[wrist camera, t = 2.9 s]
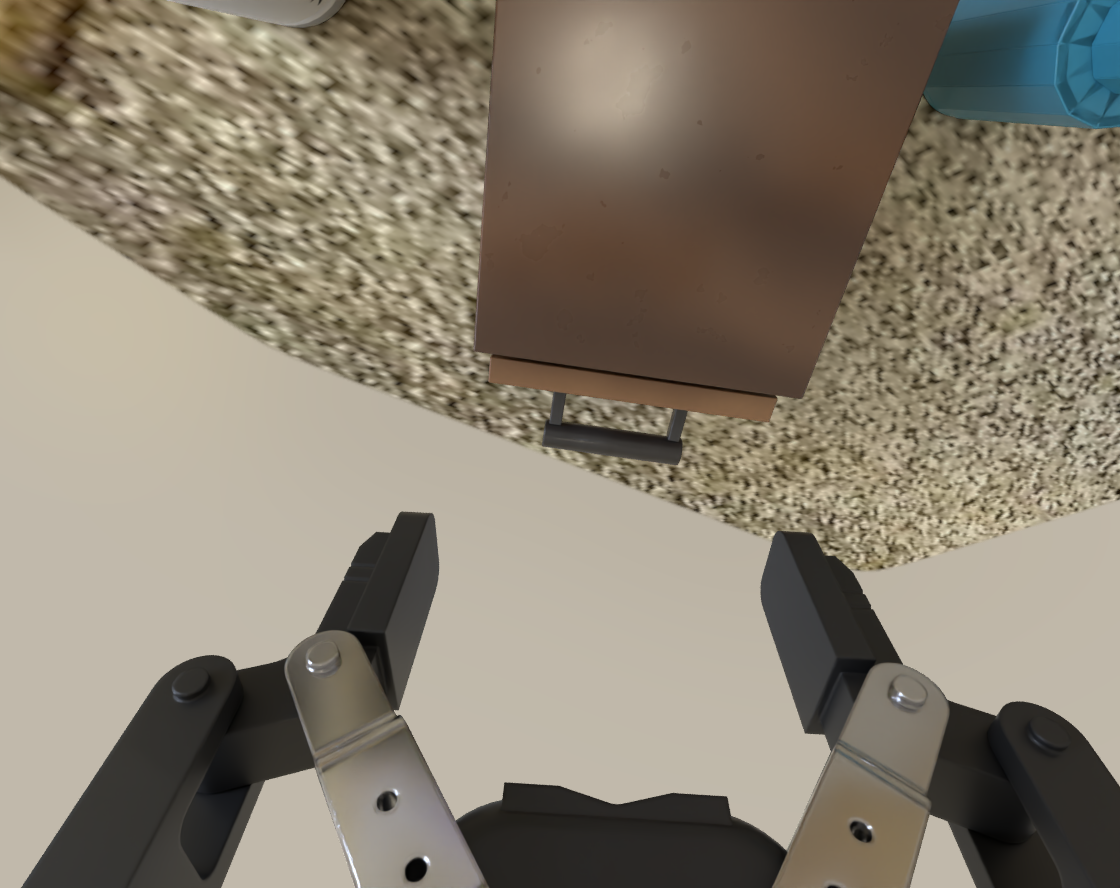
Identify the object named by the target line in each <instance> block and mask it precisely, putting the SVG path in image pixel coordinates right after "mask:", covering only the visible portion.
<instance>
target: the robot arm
mask: <svg viewBox="0 0 1120 888" xmlns="http://www.w3.org/2000/svg"><path fill="white" fill-rule="evenodd" d="M438 575H439V557H438V547H437V537H436V527H435V518H434V515H433V514H432V513H418V512H417V513H416V512H400V513H399V515H398V517H397V519H396V521H395V524H394V526H393V528H392V530H391V532H390V533H384V532H376V533H375V534H374V535H372V536H371V537H370V538H369V539H368V540H367V541H365V542H364V543H363V544H362V545H361V546H360V547H359V549H358V551H357V553H356V555H355V557H354V559H353V561H352V563H351V567H349V569H348V571H347V573H346V575H345V577H344V581H342V583H341V585H340V587H339V589H338V591H337V593H336V595H335V597H334V599H333V601H332V602H331V604H330V607H329V608H328V610H327V612H326V614H325V617H324V618H323V621H322V622H321V624H320V626H319V628H318V630H317V632H316V634H314V635H312V636H310V637H308V638H306V639H305V640H303V641H302V642H301V643H299V644H298V645H297V646H296V647H295V648H294V649H293V650H292V651H291V653H290V654H289V656H288V657H287V658H285V659H283V660H280V661H277V662H273V663H270V664H265V665H260V666H256V667H251V668H246V669H241V670H237V671H236V668H235V666H234V664H233V663H232V662H231V661H230V660H229V659H227V658H225V657H222V656H216V655H215V656H214V655H207V656H201V657H197V658H193V659H190V660H188V661H185V662H183V663H181V664H180V665H178V666H176V667H174V668H173V669H172V670H170V671H169V672H168V673H166V674H165V675H164V676H163V677H162V678H161V679H160V680H159V681H158V682H157V683H156V685H155V686H154V688H153V689H152V690H151V692H150V693H149V695H148V696H147V698H146V699H145V701H144V702H143V704H142V706H141V707H140V709H139V710H138V712H137V713H136V715H135V716H134V718H133V719H132V721H131V722H130V724H129V725H128V727H127V728H126V730H125V731H124V733H123V734H122V736H121V737H120V739H119V740H118V742H117V743H116V745H115V746H114V748H113V750H112V751H111V752H110V754H109V756H108V757H107V759H106V760H105V762H104V763H103V765H102V766H101V768H100V769H99V771H98V772H97V774H96V775H95V777H94V778H93V780H92V781H91V783H90V784H89V786H88V788H87V789H86V790H85V792H84V793H83V795H82V796H81V798H80V799H79V801H78V803H77V804H76V806H75V807H74V809H73V810H72V812H71V813H70V815H69V816H68V818H67V819H66V821H65V822H64V824H63V825H62V827H61V828H60V830H59V831H58V833H57V834H56V836H55V837H54V839H53V840H52V842H51V843H50V845H49V846H48V848H47V849H46V851H45V853H44V854H43V855H42V857H41V858H40V860H39V862H38V863H37V865H36V866H35V868H34V869H33V871H32V872H31V874H30V875H29V877H28V878H27V880H26V881H25V883H24V884H23V886H22V887H21V888H221V886H222V884H223V882H224V879H225V877H226V874H227V872H228V869H229V867H230V865H231V862H232V860H233V857H234V855H235V852H236V850H237V848H238V845H239V843H240V840H241V838H242V835H243V833H244V830H245V828H246V825H247V823H248V821H249V818H250V815H251V813H252V811H253V808H254V806H255V804H256V801H257V799H258V796H259V794H260V791H261V789H262V786H263V784H264V782H265V780H269V779H272V778H276V777H280V776H284V775H288V774H292V773H296V772H299V771H303V770H306V769H311V768H315V770H316V773H317V776H318V778H319V781H320V784H321V787H322V790H323V793H324V796H325V799H326V802H327V805H328V808H329V811H330V814H331V817H332V820H333V823H334V826H335V829H336V831H337V835H338V838H339V840H340V844H341V846H342V850H343V852H344V856H345V858H346V862H347V865H348V868H349V871H350V874H351V877H352V880H353V883H354V886H355V888H910V884H911V881H912V877H913V873H914V870H915V866H916V862H917V858H918V855H919V851H920V848H921V844H922V840H923V837H924V833H925V829H926V826H927V822H928V818H929V814H930V815H933V816H935V817H938V818H941V819H944V820H946V821H948V823H949V825H950V827H951V830H952V832H953V835H954V837H955V839H956V842H957V844H958V846H959V848H960V851H961V853H962V855H963V858H964V860H965V862H966V865H967V867H968V869H969V871H970V874H971V876H972V878H973V880H974V883H975V885H976V887H977V888H1120V786H1119V785H1118V784H1117V782H1116V781H1115V779H1114V778H1113V776H1112V775H1111V773H1110V772H1109V771H1108V769H1107V768H1106V766H1105V765H1104V763H1103V762H1102V761H1101V759H1100V758H1099V756H1098V755H1097V754H1096V752H1095V751H1094V749H1093V748H1092V746H1091V745H1090V744H1089V742H1088V741H1087V740H1086V738H1085V737H1084V736H1083V735H1082V734H1081V733H1080V732H1079V731H1078V730H1077V729H1076V728H1075V727H1074V726H1073V725H1072V724H1071V723H1069V722H1068V721H1067V720H1065V719H1064V718H1062V717H1061V716H1059V715H1058V714H1056V713H1054V712H1052V711H1050V710H1048V709H1046V708H1044V707H1042V706H1039V705H1036V704H1032V703H1028V702H1011V703H1008V704H1006V705H1005V706H1003V708H1002V709H1001V710H1000V712H999V714H998V715H997V716H995V715H991V714H989V713H985V712H982V711H979V710H976V709H973V708H969V707H967V706H963V705H960V704H957V703H954V702H951V701H949V700H947V699H946V697H945V695H944V694H943V693H942V691H941V690H940V688H939V687H938V686H937V685H936V684H935V683H934V682H933V681H931V680H930V679H929V678H928V677H926V676H925V675H924V674H922V673H920V672H918V671H917V670H915V669H913V668H910V667H908V666H905V665H903V663H902V662H901V660H900V658H899V656H898V654H897V652H896V651H895V649H894V647H893V645H892V643H891V641H890V640H889V638H888V636H887V634H886V632H885V630H884V629H883V627H882V625H881V623H880V621H879V619H878V618H877V616H876V614H875V612H874V610H873V609H871V605H870V603H869V601H868V599H867V597H866V596H865V594H863V590H862V589H861V586H860V585H859V583H858V581H857V579H856V578H855V575H854V574H853V572H852V571H851V570H850V569H849V568H847V567H846V566H845V565H844V564H843V563H842V562H841V561H840V560H839V559H838V558H837V557H836V556H824V554H823V552H822V550H821V548H820V546H819V544H818V542H817V540H816V538H815V536H814V535H813V534H812V533H807V532H789V531H778V532H776V534H775V535H774V538H773V541H772V545H771V548H770V552H769V555H768V559H767V562H766V566H765V569H764V573H763V576H762V581H761V602H762V606H763V609H764V612H765V615H766V618H767V621H768V624H769V627H770V630H771V633H772V636H773V639H774V642H775V645H776V648H777V651H778V654H779V657H780V660H781V663H782V666H783V669H784V672H785V675H786V678H787V681H788V684H789V687H790V689H791V693H792V696H793V699H794V702H795V705H796V708H797V711H798V714H799V717H800V720H801V723H802V726H803V729H804V732H805V733H808V734H824V735H825V736H826V739H827V742H828V745H829V747H830V750H831V753H830V755H829V757H828V760H827V762H826V764H825V766H824V768H823V770H822V773H821V775H820V777H819V779H818V782H817V784H816V786H815V788H814V790H813V793H812V795H811V797H810V799H809V801H808V804H807V806H806V808H805V810H804V813H803V815H802V817H801V819H800V821H799V824H798V826H797V828H796V830H795V832H794V835H793V837H792V839H791V841H790V843H789V846H788V848H787V850H785V849H784V848H783V847H782V846H781V845H780V844H779V843H778V842H776V841H775V840H774V839H772V838H771V837H770V836H768V835H767V834H766V833H764V832H762V831H761V830H759V829H758V828H756V827H754V826H753V825H751V824H749V823H747V822H745V821H742V820H740V819H738V818H735V817H733V816H731V814H730V809H729V804H728V798H727V797H726V796H710V795H695V794H694V795H693V794H678V793H670V794H666V795H661V796H656V797H652V798H648V799H643V800H638V801H634V802H630V803H624V804H611V803H608V802H605V801H602V800H599V799H596V798H593V797H590V796H587V795H584V794H581V793H578V792H575V791H572V790H569V789H567V788H564V787H561V786H553V785H537V784H521V783H504V791H503V799H502V800H501V801H496V802H492V803H489V804H486V805H484V806H481V807H478V808H476V809H474V810H472V811H470V812H468V813H466V814H465V815H463V816H462V817H461V818H459V819H457V820H456V821H455V819H454V817H453V815H452V813H451V811H450V809H449V807H448V805H447V803H446V801H445V799H444V797H443V795H442V793H441V791H440V789H439V787H438V785H437V783H436V781H435V779H434V777H433V775H432V773H431V771H430V769H429V767H428V765H427V763H426V761H425V759H424V757H423V755H422V753H421V751H420V749H419V747H418V745H417V743H416V741H415V739H414V737H413V735H412V733H411V731H410V729H409V727H408V725H407V723H406V722H405V720H404V719H403V717H402V716H401V715H398V716H397V715H396V714H395V712H394V710H399V707H400V704H401V700H402V698H403V694H404V691H405V688H406V685H407V681H408V678H409V675H410V672H411V668H412V665H413V662H414V659H415V656H416V652H417V649H418V646H419V643H420V639H421V636H422V633H423V630H424V626H425V623H426V620H427V616H428V614H429V610H430V607H431V604H432V601H433V597H434V594H435V591H436V587H437V582H438Z"/></svg>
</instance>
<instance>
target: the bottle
mask: <svg viewBox="0 0 1120 888" xmlns="http://www.w3.org/2000/svg"><path fill="white" fill-rule="evenodd" d="M923 94H924V96H925V98H926V100H927V101H928V103H929V104H930V105H931V106H932V107H933V108H934V109H936V110H937V111H939V112H940V113H942V114H945V115H948V116H952V117H955V118H958V119H971V120H984V121H997V122H1010V123H1024V124H1037V125H1050V126H1063V127H1077V128H1090V129H1102V128H1113V127H1120V0H960V1H959V3H958V6H957V9H956V11H955V14H954V16H953V19H952V21H951V24H950V26H949V29H948V31H947V34H946V36H945V39H944V41H943V44H942V46H941V49H940V52H939V54H938V57H937V59H936V62H935V64H934V67H933V69H932V72H931V74H930V77H929V79H928V82H927V84H926V87H925V89H924V92H923Z"/></svg>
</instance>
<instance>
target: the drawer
mask: <svg viewBox="0 0 1120 888" xmlns="http://www.w3.org/2000/svg"><path fill="white" fill-rule="evenodd" d="M488 381H489V382H491V383H498V384H505V385H512V386H519V387H526V388H533V389H540V390H547V391H554V394H553V401H552V407H551V414H550V420H549V419H546V421H545V428H544V435H543V442H542V446H544V447H551V448H558V449H565V450H572V451H579V452H587V453H594V454H601V455H608V456H615V457H622V458H629V459H636V460H643V461H651V462H658V463H665V464H672V465H678V463H679V462H680V459H681V455H682V439H681V438H680V437H681V433H682V430H683V426H684V423H685V419H686V416H687V412H688V411H693V412H700V413H707V414H714V415H721V416H728V417H735V418H742V419H749V420H755V421H762V422H769V421H770V418H771V415H772V412H773V410H774V407H775V404H776V402H777V397H776V396H775V395H770V394H764V393H757V392H750V391H743V390H736V389H729V388H722V387H715V386H709V385H702V384H695V383H688V382H681V381H674V380H667V379H660V378H654V377H647V376H640V375H633V374H626V373H619V372H612V371H606V370H599V369H592V368H585V367H578V366H571V365H564V364H557V363H551V362H544V361H537V360H530V359H523V358H516V357H509V356H502V355H496V354H491V357H490V367H489V379H488ZM566 393H568V394H575V395H582V396H589V397H596V398H603V399H610V400H616V401H623V402H630V403H637V404H644V405H651V406H658V407H665V408H672V409H673V413H672V416H671V420H670V424H669V428H668V431H667V436H662V435H655V434H648V433H641V432H634V431H627V430H620V429H613V428H605V427H598V426H591V425H584V424H577V423H570V422H563V421H562V417H563V410H564V404H565V398H566Z"/></svg>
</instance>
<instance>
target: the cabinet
mask: <svg viewBox="0 0 1120 888" xmlns="http://www.w3.org/2000/svg"><path fill="white" fill-rule="evenodd" d="M959 1H960V0H496V9H495V25H494V40H493V56H492V71H491V86H490V102H489V117H488V133H487V148H486V164H485V179H484V194H483V210H482V225H481V241H480V256H479V272H478V287H477V302H476V318H475V333H474V349H473V350H474V351H475V352H482V353H489V354H496V355H502V356H509V357H516V358H523V359H530V360H537V361H544V362H551V363H557V364H564V365H571V366H578V367H585V368H592V369H599V370H606V371H612V372H619V373H626V374H633V375H640V376H647V377H654V378H660V379H667V380H674V381H681V382H688V383H695V384H702V385H709V386H715V387H722V388H729V389H736V390H743V391H750V392H757V393H764V394H770V395H777V396H784V397H791V398H798V399H802V398H803V395H804V393H805V390H806V388H807V385H808V383H809V380H810V378H811V375H812V372H813V370H814V367H815V365H816V362H817V360H818V357H819V355H820V352H821V350H822V347H823V345H824V342H825V340H826V337H827V335H828V332H829V330H830V327H831V324H832V322H833V319H834V317H835V314H836V312H837V309H838V307H839V304H840V302H841V299H842V297H843V294H844V292H845V289H846V287H847V284H848V281H849V279H850V276H851V274H852V271H853V269H854V266H855V264H856V261H857V259H858V256H859V254H860V251H861V249H862V246H863V244H864V241H865V239H866V236H867V233H868V231H869V228H870V226H871V223H872V221H873V218H874V216H875V213H876V211H877V208H878V206H879V203H880V201H881V198H882V196H883V193H884V191H885V188H886V185H887V183H888V180H889V178H890V175H891V173H892V170H893V168H894V165H895V163H896V160H897V158H898V155H899V153H900V150H901V148H902V145H903V142H904V140H905V137H906V135H907V132H908V130H909V127H910V125H911V122H912V120H913V117H914V115H915V112H916V110H917V107H918V105H919V102H920V100H921V97H922V94H923V92H924V89H925V87H926V84H927V82H928V79H929V77H930V74H931V72H932V69H933V67H934V64H935V62H936V59H937V57H938V54H939V52H940V49H941V46H942V44H943V41H944V39H945V36H946V34H947V31H948V29H949V26H950V24H951V21H952V19H953V16H954V14H955V11H956V9H957V6H958V3H959Z"/></svg>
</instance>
